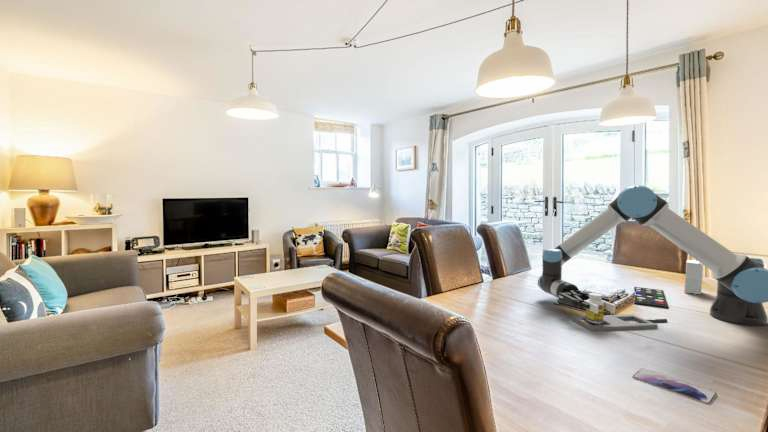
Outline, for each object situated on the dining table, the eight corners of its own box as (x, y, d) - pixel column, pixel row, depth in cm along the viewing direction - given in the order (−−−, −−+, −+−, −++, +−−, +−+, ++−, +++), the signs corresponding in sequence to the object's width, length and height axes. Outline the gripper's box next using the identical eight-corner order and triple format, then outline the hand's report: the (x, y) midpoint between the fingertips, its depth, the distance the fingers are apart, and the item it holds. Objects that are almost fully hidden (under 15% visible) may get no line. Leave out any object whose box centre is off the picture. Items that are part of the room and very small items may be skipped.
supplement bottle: (594, 324, 123) (595, 296, 122) (582, 319, 128) (582, 292, 127) (607, 323, 124) (608, 295, 124) (594, 318, 129) (595, 291, 129)
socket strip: (653, 316, 134) (653, 312, 134) (680, 327, 123) (680, 322, 123) (572, 319, 131) (572, 315, 131) (592, 331, 120) (592, 326, 120)
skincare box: (684, 289, 172) (685, 259, 171) (701, 291, 168) (702, 260, 167) (684, 293, 165) (685, 261, 165) (701, 295, 161) (702, 263, 161)
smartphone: (710, 404, 77) (631, 376, 89) (710, 407, 77) (631, 379, 89) (718, 392, 81) (641, 367, 93) (717, 396, 82) (641, 370, 94)
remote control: (634, 305, 150) (634, 300, 149) (634, 289, 174) (634, 285, 174) (668, 310, 143) (668, 305, 143) (662, 293, 168) (663, 289, 168)
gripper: (586, 299, 145) (630, 319, 121) (543, 300, 143) (580, 321, 120) (586, 281, 144) (631, 297, 121) (543, 282, 143) (580, 299, 119)
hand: (605, 309), depth 120 cm, fingers closed on supplement bottle, 5 cm apart
